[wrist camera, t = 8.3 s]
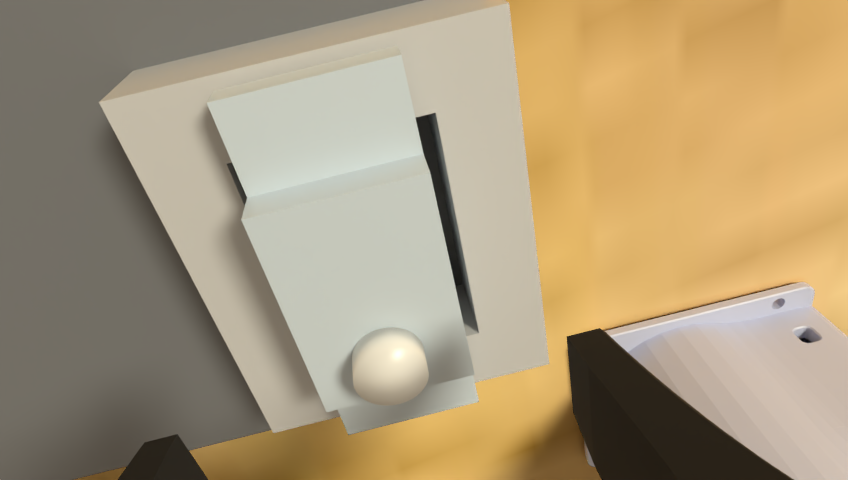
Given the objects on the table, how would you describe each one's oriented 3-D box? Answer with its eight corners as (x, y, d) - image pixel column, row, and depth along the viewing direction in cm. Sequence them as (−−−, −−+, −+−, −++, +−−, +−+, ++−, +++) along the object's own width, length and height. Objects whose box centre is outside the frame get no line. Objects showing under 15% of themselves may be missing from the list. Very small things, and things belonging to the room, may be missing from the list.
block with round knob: (386, 19, 14) (412, 80, 10) (456, 324, 20) (493, 452, 15) (232, 57, 14) (187, 135, 10) (345, 351, 20) (350, 488, 15)
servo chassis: (458, -129, 14) (493, -134, 11) (525, 346, 22) (554, 415, 20) (-356, 65, 14) (-545, 114, 11) (26, 471, 22) (-20, 560, 19)
